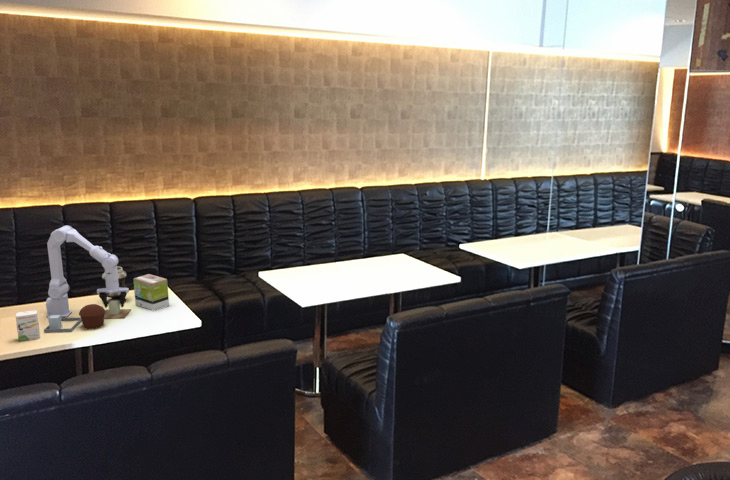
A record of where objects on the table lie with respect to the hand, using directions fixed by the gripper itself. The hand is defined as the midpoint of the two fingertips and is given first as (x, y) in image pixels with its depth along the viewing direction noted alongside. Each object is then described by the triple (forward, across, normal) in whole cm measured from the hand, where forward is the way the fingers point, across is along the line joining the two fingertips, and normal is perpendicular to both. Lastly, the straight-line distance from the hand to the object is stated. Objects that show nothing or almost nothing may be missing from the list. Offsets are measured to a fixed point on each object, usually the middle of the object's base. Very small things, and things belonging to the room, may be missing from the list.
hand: (114, 306), depth 311 cm
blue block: (+4, -22, -18) cm, 28 cm away
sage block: (+3, 0, 0) cm, 3 cm away
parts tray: (+4, -19, -14) cm, 24 cm away
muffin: (+4, -6, -15) cm, 16 cm away
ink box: (+4, -29, -28) cm, 41 cm away
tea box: (+4, +15, +12) cm, 20 cm away
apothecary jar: (+4, -5, +20) cm, 21 cm away
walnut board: (+4, 0, 0) cm, 4 cm away
